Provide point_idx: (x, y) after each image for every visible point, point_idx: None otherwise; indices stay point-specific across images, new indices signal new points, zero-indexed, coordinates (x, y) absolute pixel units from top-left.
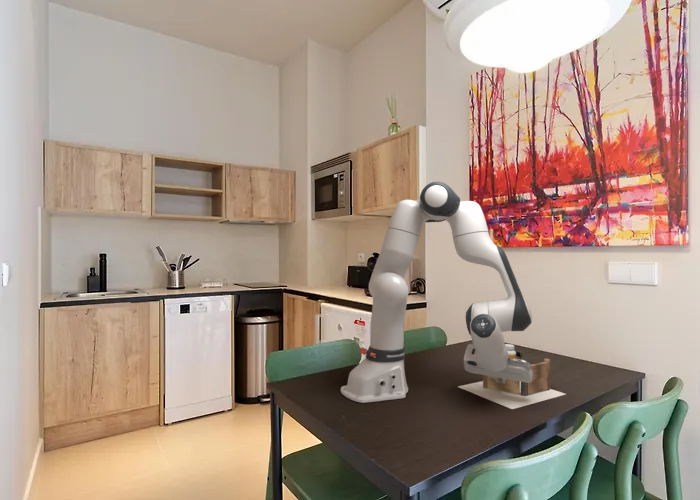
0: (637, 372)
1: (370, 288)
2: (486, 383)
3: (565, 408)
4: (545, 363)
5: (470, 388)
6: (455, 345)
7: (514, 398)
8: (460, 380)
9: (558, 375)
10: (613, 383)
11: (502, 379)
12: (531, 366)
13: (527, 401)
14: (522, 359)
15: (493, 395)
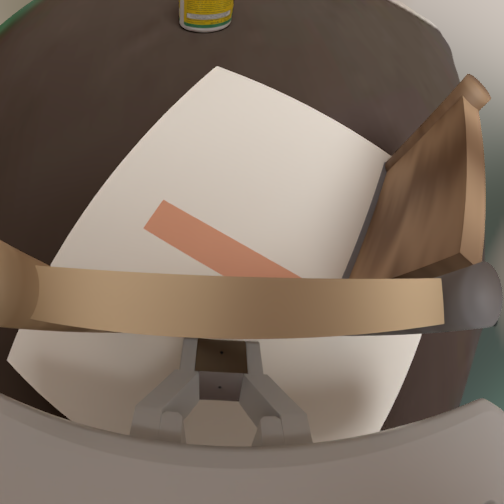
0: (436, 29)
1: None
2: (118, 332)
3: (468, 355)
4: (478, 120)
5: (56, 364)
6: None
7: (308, 406)
8: (8, 232)
9: (355, 37)
10: (453, 77)
11: (246, 407)
12: (481, 231)
13: (368, 406)
14: None
15: (193, 427)
